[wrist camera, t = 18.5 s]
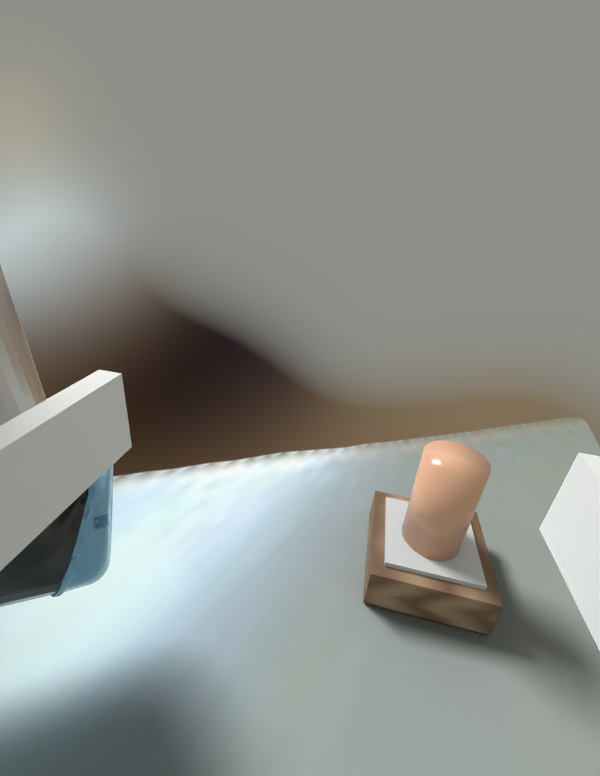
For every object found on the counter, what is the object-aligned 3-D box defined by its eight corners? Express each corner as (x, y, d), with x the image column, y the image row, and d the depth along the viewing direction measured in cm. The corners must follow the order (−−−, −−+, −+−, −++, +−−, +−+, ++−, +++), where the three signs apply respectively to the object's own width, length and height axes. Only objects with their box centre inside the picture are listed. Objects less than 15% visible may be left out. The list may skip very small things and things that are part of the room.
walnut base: (363, 602, 44) (371, 570, 41) (369, 516, 56) (375, 487, 54) (488, 635, 41) (505, 603, 39) (466, 538, 54) (477, 509, 51)
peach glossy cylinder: (402, 552, 44) (426, 471, 38) (401, 510, 50) (421, 435, 45) (464, 567, 43) (498, 486, 37) (455, 522, 49) (482, 447, 43)
